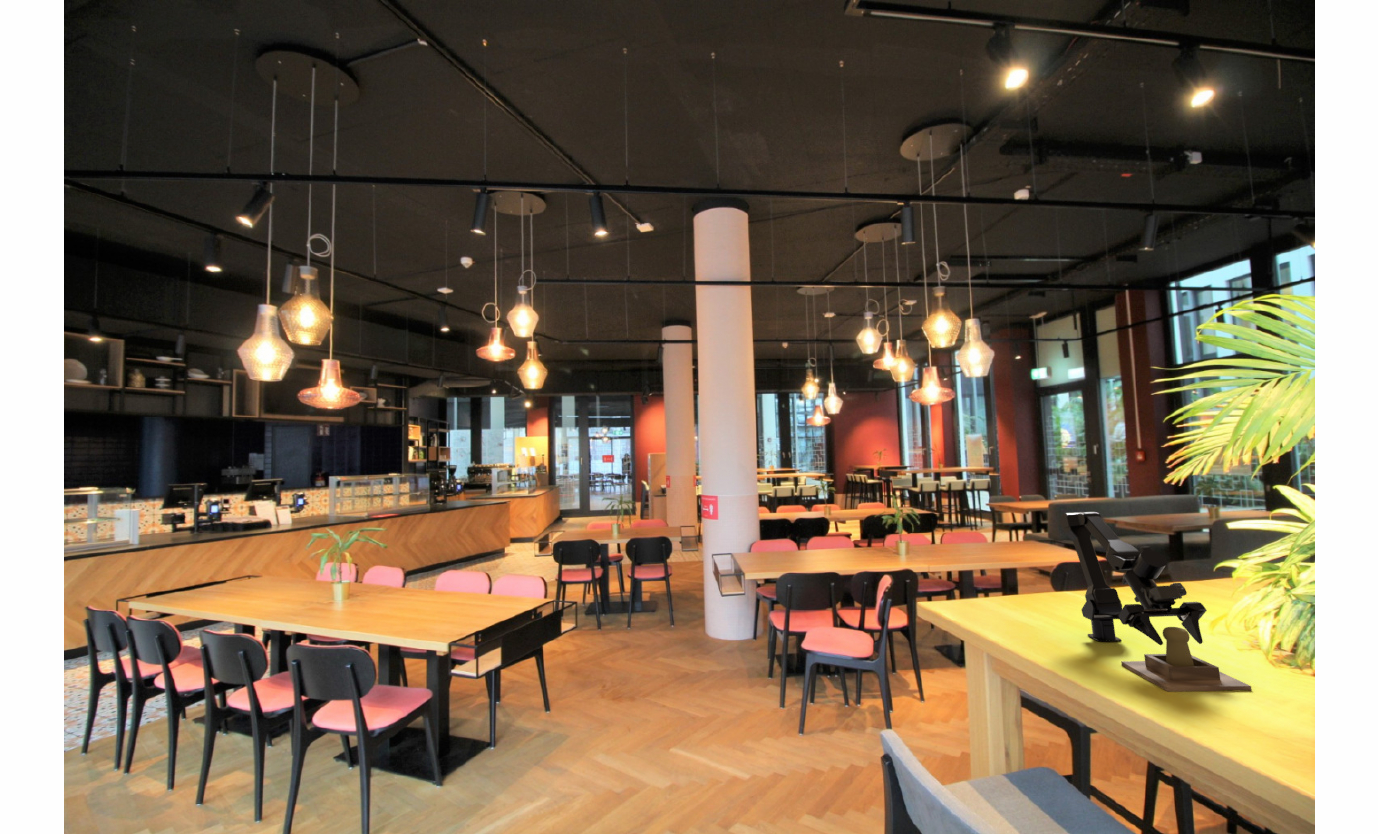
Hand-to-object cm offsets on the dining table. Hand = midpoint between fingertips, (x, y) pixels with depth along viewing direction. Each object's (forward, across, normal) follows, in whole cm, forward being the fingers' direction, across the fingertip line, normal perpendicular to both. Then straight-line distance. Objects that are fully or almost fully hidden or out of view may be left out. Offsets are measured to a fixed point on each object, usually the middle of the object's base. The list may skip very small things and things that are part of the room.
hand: (1181, 643), depth 144 cm
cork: (+4, 0, +6) cm, 8 cm away
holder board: (+5, 0, +7) cm, 9 cm away
